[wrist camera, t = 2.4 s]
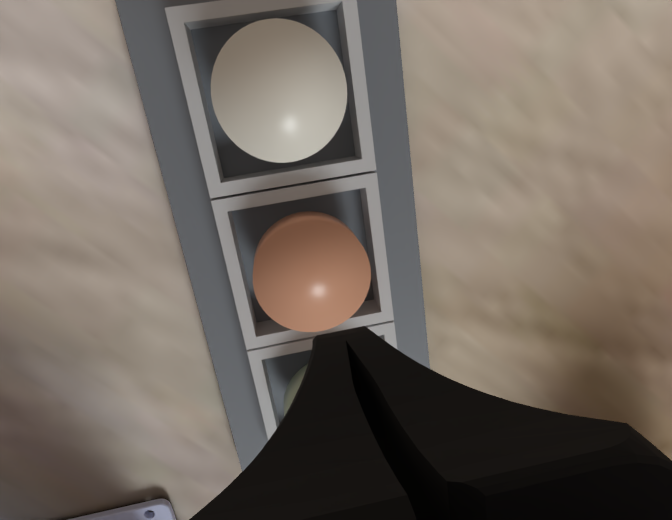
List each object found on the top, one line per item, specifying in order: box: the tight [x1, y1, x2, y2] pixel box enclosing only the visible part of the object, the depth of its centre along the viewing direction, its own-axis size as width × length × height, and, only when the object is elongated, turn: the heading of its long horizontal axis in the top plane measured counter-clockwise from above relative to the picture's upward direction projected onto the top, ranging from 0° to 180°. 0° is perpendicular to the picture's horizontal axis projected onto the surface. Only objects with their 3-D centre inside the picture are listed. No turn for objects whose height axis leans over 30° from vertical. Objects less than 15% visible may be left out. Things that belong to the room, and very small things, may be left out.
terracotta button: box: [253, 211, 371, 332], centre depth 18 cm, size 4×4×2 cm
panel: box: [115, 0, 430, 471], centre depth 19 cm, size 10×21×2 cm, turn 8°
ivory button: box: [211, 18, 347, 163], centre depth 16 cm, size 4×4×2 cm
